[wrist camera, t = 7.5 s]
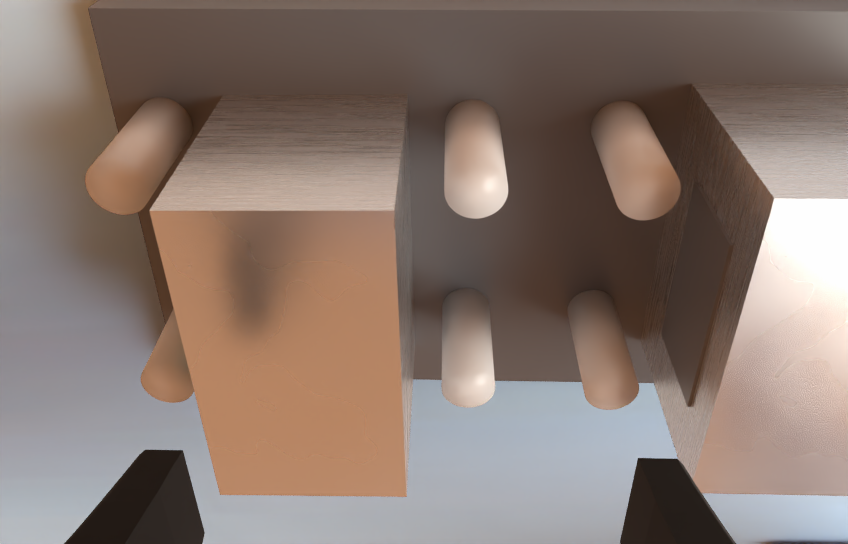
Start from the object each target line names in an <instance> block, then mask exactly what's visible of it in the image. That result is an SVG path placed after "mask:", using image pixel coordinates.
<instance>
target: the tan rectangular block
mask: <svg viewBox="0 0 848 544" xmlns="http://www.w3.org/2000/svg"><path fill="white" fill-rule="evenodd" d="M674 171H675V172H676V174H677V176H678V178H679V181H680V185H681V190H680V195H679V198H678V200H677V202H676V204H675V205H674V206H673V207H672V208H671V209H670V210H669V211H668V212H667V213H666V214H665V219H664V224H663V229H662V234H661V239H660V244H659V249H658V254H657V259H656V264H655V269H654V274H653V279H652V284H651V289H650V294H649V299H648V304H647V309H646V314H645V319H644V324H643V329H642V334H641V339H640V341H641V344H642V347H643V350H644V354H645V357H646V360H647V363H648V366H649V369H650V372H651V375H652V378H653V382H654V385H655V388H656V391H657V394H658V397H659V400H660V403H661V406H662V410H663V413H664V416H665V419H666V422H667V425H668V428H669V431H670V434H671V438H672V441H673V444H674V447H675V450H676V453H677V456H678V459H679V461H680V462H681V463H682V464H683V465H684V467H685V468H686V470H687V471H688V473H689V475H690V476H691V478H692V479H693V481H694V482H695V484H696V486H697V487H698V489H699V490H700V492H701V493H723V494H776V495H829V496H848V84H734V83H692V85H691V90H690V95H689V100H688V105H687V110H686V115H685V120H684V125H683V130H682V135H681V140H680V145H679V150H678V155H677V160H676V165H675V170H674Z"/></svg>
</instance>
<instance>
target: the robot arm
mask: <svg viewBox="0 0 848 544" xmlns="http://www.w3.org/2000/svg"><path fill="white" fill-rule="evenodd" d="M203 537H204V529H203V525H202V521H201V518H200V514H199V510H198V506H197V502H196V499H195V495H194V491H193V487H192V483H191V480H190V476H189V472H188V468H187V465H186V461H185V457H184V453H183V450H144V451H143V452H142V453H141V454H140V455H139V456H138V457H137V459H136V460H135V461H134V462H133V463H132V465H131V466H130V467H129V468H128V469H127V471H126V472H125V473H124V474H123V475H122V477H121V478H120V479H119V480H118V481H117V483H116V484H115V485H114V486H113V488H112V489H111V490H110V491H109V492H108V494H107V495H106V496H105V497H104V498H103V500H102V501H101V502H100V503H99V504H98V505H97V507H96V508H95V509H94V510H93V511H92V512H91V514H90V515H89V516H88V517H87V518H86V520H85V521H84V522H83V523H82V524H81V525H80V527H79V528H78V529H77V530H76V531H75V532H74V533H73V534H72V536H71V537H70V538H69V539H68V540H67V541H66V542H65V543H64V544H202V542H203ZM620 543H621V544H736V543H735V542H734V540H733V539H732V537H731V536H730V535H729V533H728V532H727V530H726V529H725V527H724V526H723V524H722V523H721V522H720V520H719V519H718V517H717V516H716V514H715V513H714V511H713V510H712V508H711V507H710V505H709V504H708V502H707V501H706V499H705V498H704V496H703V495H702V493H701V492H700V490H699V489H698V487H697V486H696V484H695V482H694V481H693V479H692V478H691V476H690V475H689V473H688V471H687V470H686V468H685V467H684V465H683V464H682V463H681V462H680V461H679V460H678V459H652V458H638V461H637V466H636V470H635V475H634V480H633V484H632V489H631V494H630V498H629V503H628V508H627V512H626V517H625V522H624V526H623V531H622V535H621V540H620Z"/></svg>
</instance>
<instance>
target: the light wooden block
mask: <svg viewBox="0 0 848 544" xmlns="http://www.w3.org/2000/svg"><path fill="white" fill-rule="evenodd" d="M149 211H150V215H151V220H152V224H153V228H154V232H155V236H156V240H157V244H158V248H159V252H160V256H161V260H162V264H163V268H164V272H165V276H166V280H167V284H168V288H169V292H170V296H171V300H172V304H173V308H174V312H175V316H176V320H177V324H178V328H179V332H180V336H181V340H182V344H183V348H184V352H185V356H186V360H187V364H188V368H189V372H190V376H191V380H192V384H193V388H194V392H195V396H196V400H197V404H198V408H199V412H200V416H201V420H202V424H203V428H204V432H205V436H206V440H207V444H208V448H209V452H210V456H211V460H212V464H213V468H214V472H215V476H216V480H217V484H218V488H219V492H220V495H304V496H398V497H407V478H408V460H409V442H410V424H411V406H412V388H413V370H414V352H415V332H414V297H413V263H412V228H411V194H410V159H409V125H408V94H370V95H223V96H222V98H221V99H220V101H219V102H218V104H217V106H216V107H215V109H214V110H213V112H212V113H211V115H210V117H209V118H208V120H207V121H206V123H205V124H204V126H203V127H202V129H201V131H200V132H199V134H198V135H197V137H196V138H195V140H194V142H193V143H192V145H191V146H190V148H189V149H188V151H187V153H186V154H185V156H184V157H183V159H182V160H181V162H180V163H179V165H178V167H177V168H176V170H175V171H174V173H173V174H172V176H171V178H170V179H169V181H168V182H167V184H166V185H165V187H164V188H163V190H162V192H161V193H160V195H159V196H158V198H157V199H156V201H155V203H154V204H153V206H152V207H151V209H150V210H149Z"/></svg>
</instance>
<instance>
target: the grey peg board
mask: <svg viewBox="0 0 848 544" xmlns="http://www.w3.org/2000/svg"><path fill="white" fill-rule="evenodd" d="M88 10H89V14H90V18H91V22H92V26H93V30H94V35H95V39H96V43H97V47H98V51H99V55H100V59H101V63H102V67H103V71H104V75H105V79H106V84H107V88H108V92H109V96H110V100H111V104H112V108H113V112H114V116H115V120H116V124H117V128H118V134H117V135H116V137H115V138H114V139H113V140H112V141H111V142H110V144H109V145H108V146H107V147H106V148H105V150H104V151H103V152H102V153H101V154H100V155H99V157H98V158H97V159H96V160H95V161H94V163H93V164H92V165H91V166H90V167H89V169H88V170H87V173H86V176H85V184H86V188H87V191H88V193H89V195H90V196H91V198H92V199H93V200H94V201H95V202H96V203H97V204H98V205H99V206H100V207H102V208H103V209H105V210H107V211H109V212H112V213H115V214H120V215H129V214H134V213H137V212H138V214H139V218H140V222H141V226H142V231H143V235H144V239H145V243H146V247H147V251H148V255H149V259H150V263H151V267H152V271H153V275H154V280H155V284H156V288H157V292H158V296H159V300H160V304H161V308H162V312H163V316H164V320H165V324H166V325H165V327H164V329H163V331H162V333H161V335H160V337H159V339H158V341H157V343H156V346H155V348H154V350H153V352H152V354H151V356H150V358H149V360H148V362H147V364H146V366H145V368H144V370H143V372H142V375H141V383H142V386H143V387H144V389H145V390H146V391H147V392H148V393H149V394H150V395H151V396H153V397H154V398H156V399H158V400H161V401H165V402H172V403H175V402H181V401H184V400H186V399H188V398H189V397H190V396H191V395H192V394H193V392H194V388H193V384H192V380H191V376H190V372H189V368H188V364H187V360H186V356H185V352H184V348H183V344H182V340H181V336H180V332H179V328H178V324H177V320H176V316H175V312H174V308H173V304H172V300H171V296H170V292H169V288H168V284H167V280H166V276H165V272H164V268H163V264H162V260H161V256H160V252H159V248H158V244H157V240H156V236H155V232H154V228H153V224H152V220H151V215H150V211H149V210H150V209H151V207H152V206H153V204H154V203H155V201H156V199H157V198H158V196H159V195H160V193H161V192H162V190H163V188H164V187H165V185H166V184H167V182H168V181H169V179H170V178H171V176H172V174H173V173H174V171H175V170H176V168H177V167H178V165H179V163H180V162H181V160H182V159H183V157H184V156H185V154H186V153H187V151H188V149H189V148H190V146H191V145H192V143H193V142H194V140H195V138H196V137H197V135H198V134H199V132H200V131H201V129H202V127H203V126H204V124H205V123H206V121H207V120H208V118H209V117H210V115H211V113H212V112H213V110H214V109H215V107H216V106H217V104H218V102H219V101H220V99H221V98H222V96H223V95H370V94H408V125H409V159H410V194H411V228H412V263H413V297H414V332H415V352H414V370H413V379H431V380H442V393H443V395H444V397H445V398H446V399H447V400H448V401H449V402H451V403H452V404H454V405H457V406H460V407H476V406H479V405H482V404H484V403H486V402H487V401H488V400H490V399H491V397H492V396H493V394H494V392H495V381H559V382H582V384H583V389H584V393H585V397H586V399H587V401H588V402H589V403H590V404H591V405H593V406H595V407H597V408H600V409H605V410H612V409H618V408H621V407H624V406H626V405H628V404H629V403H631V402H632V401H633V400H634V399H635V398H636V396H637V394H638V391H639V384H638V383H654V382H653V378H652V375H651V372H650V369H649V366H648V363H647V360H646V357H645V354H644V350H643V347H642V344H641V341H640V339H641V334H642V329H643V324H644V319H645V314H646V309H647V304H648V299H649V294H650V289H651V284H652V279H653V274H654V269H655V264H656V259H657V254H658V249H659V244H660V239H661V234H662V229H663V224H664V219H665V214H666V213H667V212H668V211H669V210H670V209H671V208H672V207H673V206H674V205H675V204H676V202H677V200H678V198H679V195H680V190H681V185H680V181H679V178H678V176H677V174H676V172H675V171H674V170H675V165H676V160H677V155H678V150H679V145H680V140H681V135H682V130H683V125H684V120H685V115H686V110H687V105H688V100H689V95H690V90H691V85H692V83H734V84H848V0H99V1H97V2H96V3H94V4H93V5H92V6H90V7H89V8H88Z"/></svg>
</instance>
